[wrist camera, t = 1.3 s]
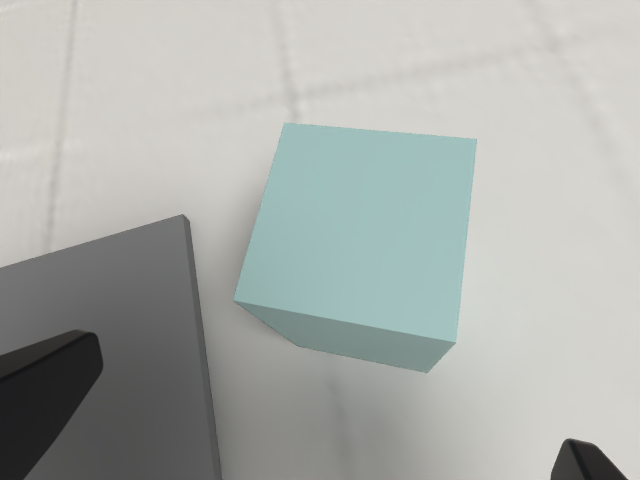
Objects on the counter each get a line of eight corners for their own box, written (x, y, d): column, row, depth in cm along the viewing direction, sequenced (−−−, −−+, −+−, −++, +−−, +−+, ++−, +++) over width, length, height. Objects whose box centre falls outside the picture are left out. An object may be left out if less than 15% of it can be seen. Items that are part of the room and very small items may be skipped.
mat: (232, 563, 17) (225, 569, 16) (-61, 635, 18) (-81, 645, 17) (189, 220, 24) (182, 214, 23) (-26, 283, 24) (-39, 279, 23)
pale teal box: (427, 373, 19) (455, 342, 10) (297, 346, 20) (232, 300, 12) (442, 247, 21) (476, 139, 12) (324, 230, 22) (284, 122, 14)
